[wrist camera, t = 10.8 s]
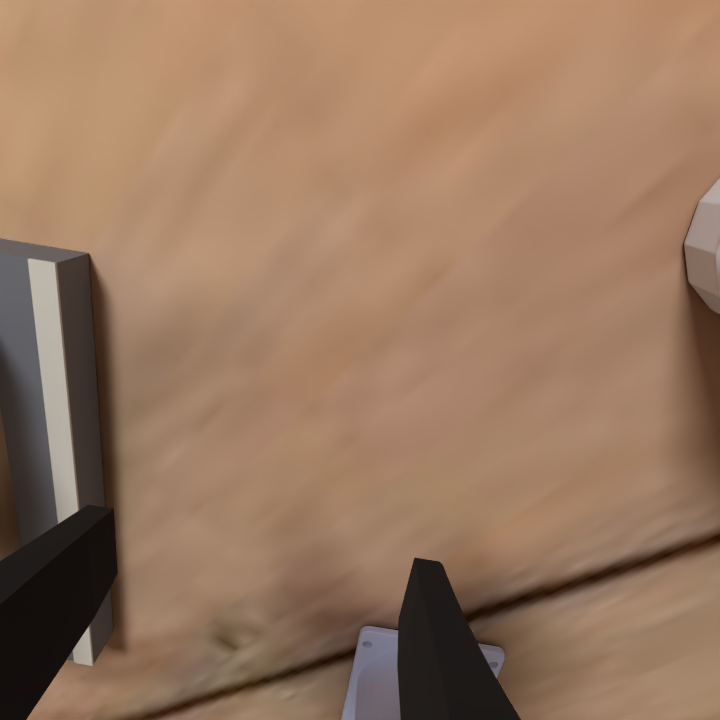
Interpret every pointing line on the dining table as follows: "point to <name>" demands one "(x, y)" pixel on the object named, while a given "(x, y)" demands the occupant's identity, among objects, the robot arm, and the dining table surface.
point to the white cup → (705, 249)
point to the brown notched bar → (7, 504)
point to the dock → (51, 398)
